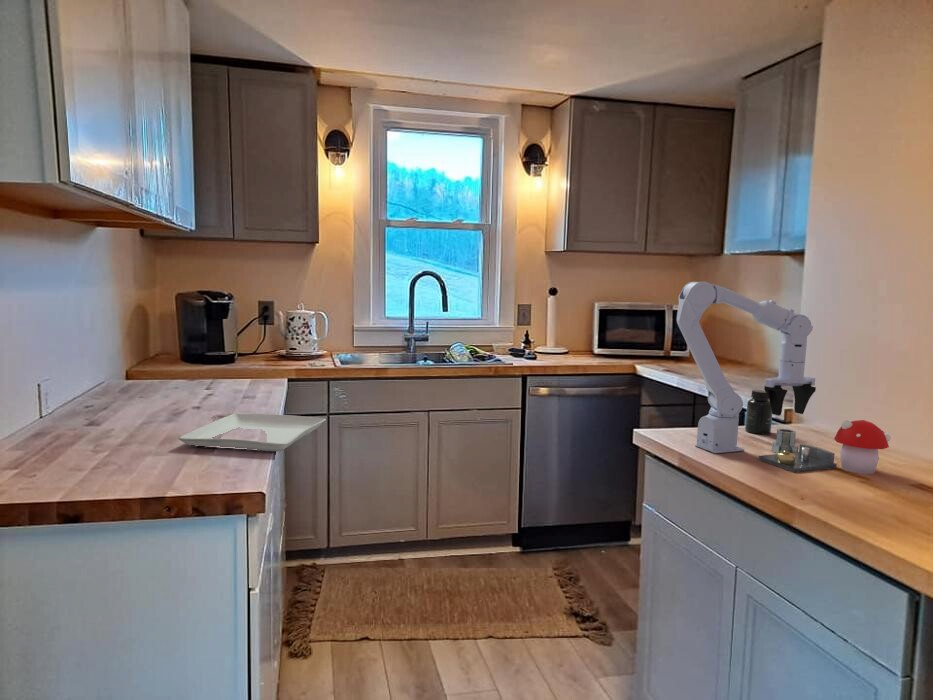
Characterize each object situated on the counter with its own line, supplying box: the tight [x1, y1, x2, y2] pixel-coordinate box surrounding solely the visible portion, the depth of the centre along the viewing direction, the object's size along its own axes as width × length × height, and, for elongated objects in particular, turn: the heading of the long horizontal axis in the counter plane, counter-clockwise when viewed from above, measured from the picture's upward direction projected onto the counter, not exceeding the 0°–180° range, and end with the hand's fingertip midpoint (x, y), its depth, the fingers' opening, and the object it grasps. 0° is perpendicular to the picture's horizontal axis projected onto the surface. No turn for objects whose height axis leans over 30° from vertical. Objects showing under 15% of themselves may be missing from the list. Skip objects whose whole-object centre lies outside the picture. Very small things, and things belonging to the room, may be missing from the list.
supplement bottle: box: [744, 389, 773, 435], centre depth 182 cm, size 7×7×12 cm
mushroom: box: [833, 419, 892, 475], centre depth 146 cm, size 11×11×12 cm
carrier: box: [758, 443, 837, 473], centre depth 151 cm, size 13×10×4 cm
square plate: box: [178, 413, 326, 452], centre depth 161 cm, size 27×27×4 cm
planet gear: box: [771, 428, 800, 454], centre depth 161 cm, size 6×6×6 cm
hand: (787, 414), depth 161 cm, fingers open, 7 cm apart
